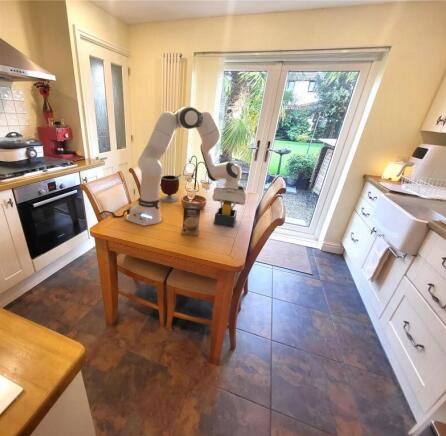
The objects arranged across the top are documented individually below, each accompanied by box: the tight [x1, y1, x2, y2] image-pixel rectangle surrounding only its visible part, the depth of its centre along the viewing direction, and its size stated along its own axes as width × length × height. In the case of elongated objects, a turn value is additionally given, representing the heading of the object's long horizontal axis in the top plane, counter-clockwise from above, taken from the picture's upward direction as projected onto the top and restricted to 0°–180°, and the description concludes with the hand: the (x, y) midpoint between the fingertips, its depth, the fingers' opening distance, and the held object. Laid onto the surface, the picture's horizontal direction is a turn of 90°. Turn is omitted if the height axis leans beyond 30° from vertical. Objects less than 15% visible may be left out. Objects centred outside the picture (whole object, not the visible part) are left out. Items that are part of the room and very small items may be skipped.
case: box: [213, 206, 238, 228], centre depth 145 cm, size 12×12×7 cm
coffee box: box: [181, 203, 201, 236], centre depth 129 cm, size 9×6×16 cm
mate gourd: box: [160, 174, 182, 203], centre depth 176 cm, size 16×14×20 cm
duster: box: [222, 201, 233, 216], centre depth 143 cm, size 5×5×10 cm
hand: (226, 208), depth 142 cm, fingers closed on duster, 4 cm apart
